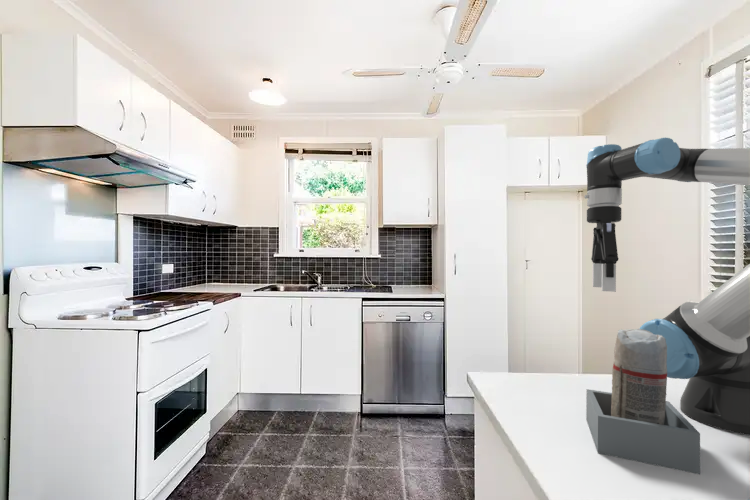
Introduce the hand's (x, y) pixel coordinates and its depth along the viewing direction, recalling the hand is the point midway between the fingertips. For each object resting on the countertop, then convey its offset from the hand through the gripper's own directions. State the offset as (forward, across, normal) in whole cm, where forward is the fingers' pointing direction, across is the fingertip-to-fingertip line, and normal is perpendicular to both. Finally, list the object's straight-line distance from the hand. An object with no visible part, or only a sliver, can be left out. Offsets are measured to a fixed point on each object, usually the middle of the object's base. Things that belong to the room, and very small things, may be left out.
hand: (603, 289), depth 90 cm
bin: (+27, +26, +1) cm, 37 cm away
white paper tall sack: (+26, +26, +1) cm, 37 cm away
